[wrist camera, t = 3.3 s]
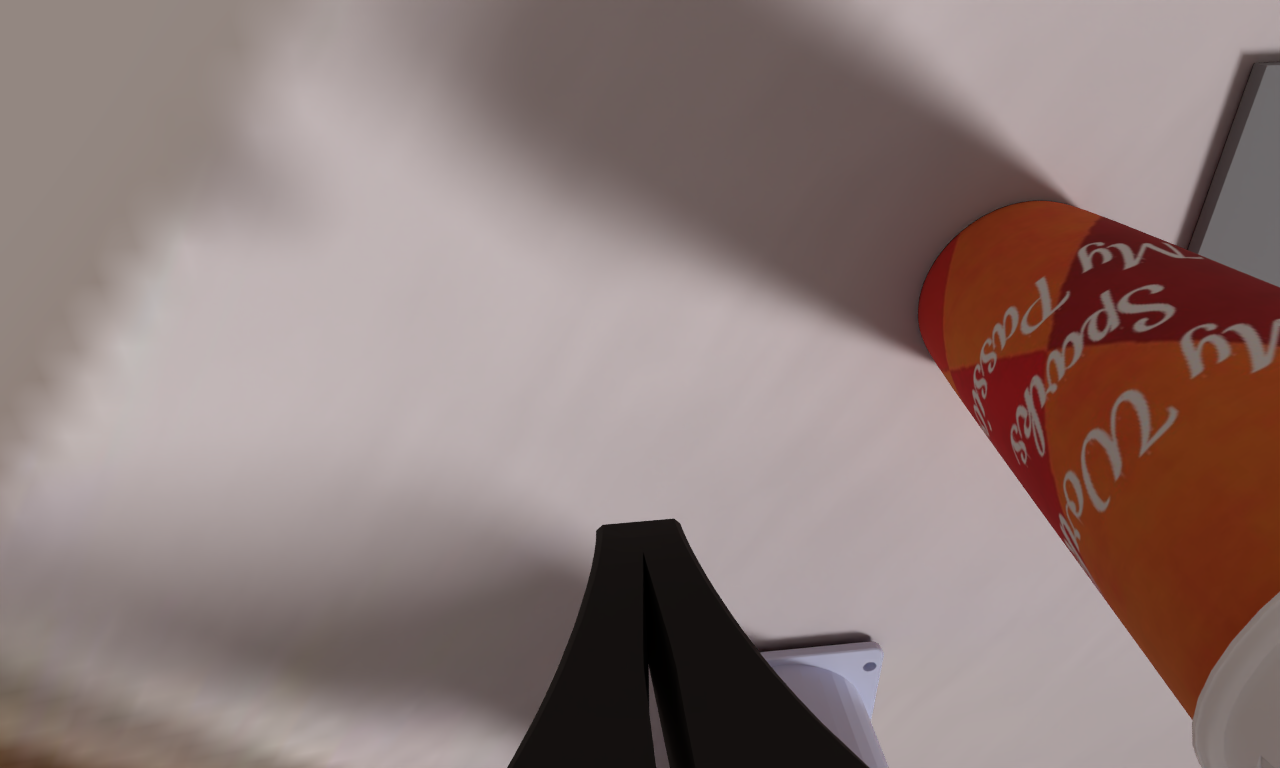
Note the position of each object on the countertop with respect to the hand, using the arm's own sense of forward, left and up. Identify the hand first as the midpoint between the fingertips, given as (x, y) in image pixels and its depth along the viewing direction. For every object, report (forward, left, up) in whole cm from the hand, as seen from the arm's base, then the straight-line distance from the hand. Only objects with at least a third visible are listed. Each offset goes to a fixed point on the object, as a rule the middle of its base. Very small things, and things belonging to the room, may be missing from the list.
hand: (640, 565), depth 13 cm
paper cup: (0, -12, -10) cm, 15 cm away
